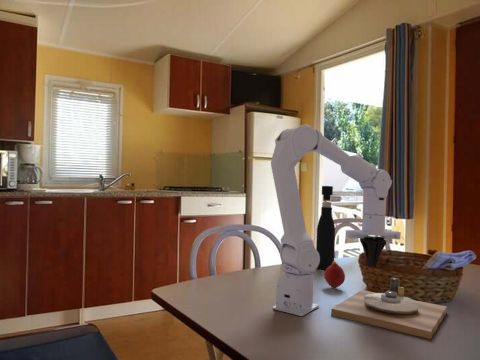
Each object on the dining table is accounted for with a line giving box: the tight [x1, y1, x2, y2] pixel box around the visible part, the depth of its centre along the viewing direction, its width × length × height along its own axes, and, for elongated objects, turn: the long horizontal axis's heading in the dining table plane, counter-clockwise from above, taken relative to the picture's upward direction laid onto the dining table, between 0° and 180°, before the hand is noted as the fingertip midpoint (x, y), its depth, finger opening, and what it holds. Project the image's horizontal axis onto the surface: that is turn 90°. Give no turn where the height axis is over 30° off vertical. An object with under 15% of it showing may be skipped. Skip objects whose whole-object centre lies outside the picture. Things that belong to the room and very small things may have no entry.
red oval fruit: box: [323, 260, 346, 290], centre depth 112 cm, size 6×6×8 cm
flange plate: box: [364, 277, 419, 314], centre depth 93 cm, size 16×12×4 cm
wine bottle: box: [315, 185, 336, 272], centre depth 139 cm, size 6×6×30 cm
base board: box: [331, 286, 448, 340], centre depth 91 cm, size 21×21×5 cm
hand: (371, 266), depth 101 cm, fingers closed
